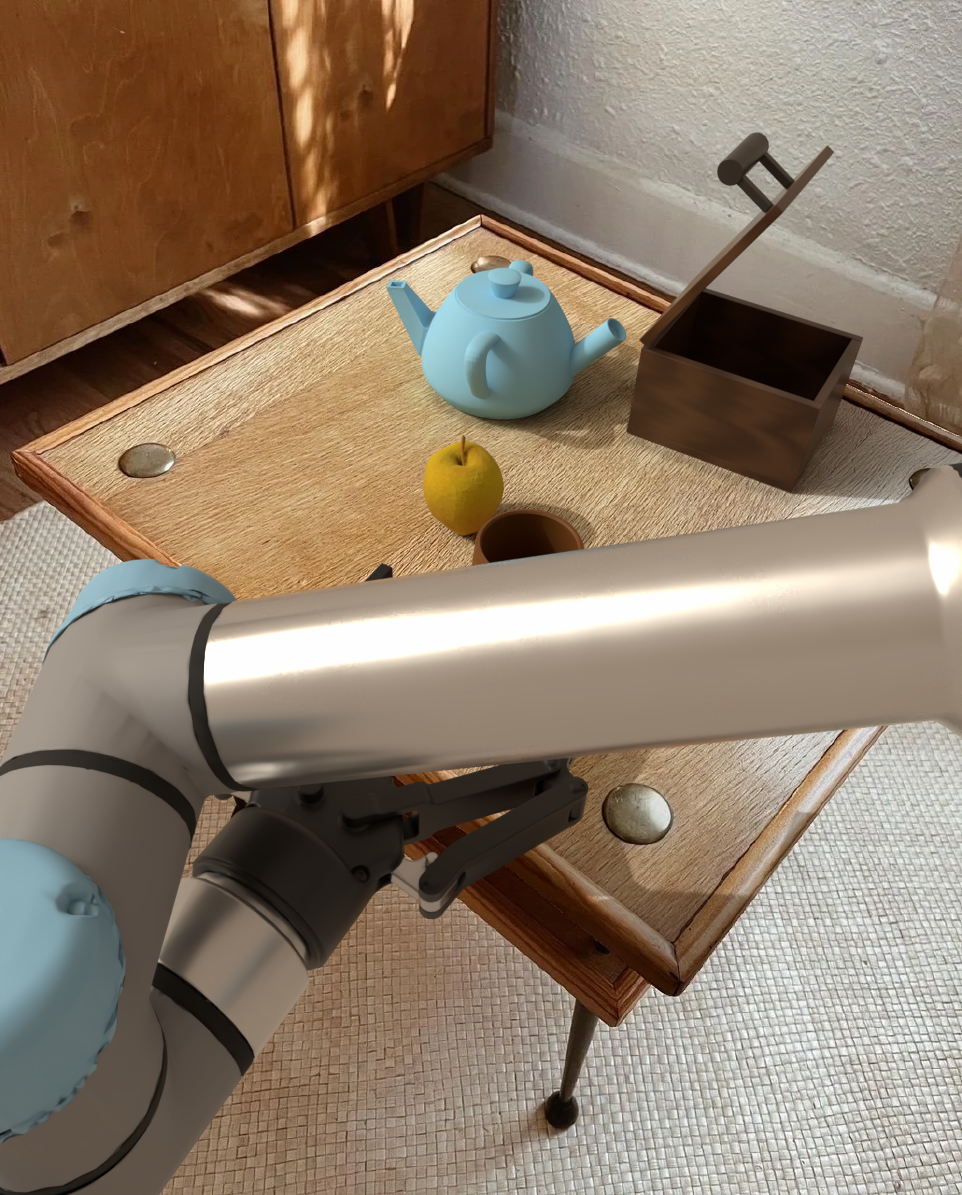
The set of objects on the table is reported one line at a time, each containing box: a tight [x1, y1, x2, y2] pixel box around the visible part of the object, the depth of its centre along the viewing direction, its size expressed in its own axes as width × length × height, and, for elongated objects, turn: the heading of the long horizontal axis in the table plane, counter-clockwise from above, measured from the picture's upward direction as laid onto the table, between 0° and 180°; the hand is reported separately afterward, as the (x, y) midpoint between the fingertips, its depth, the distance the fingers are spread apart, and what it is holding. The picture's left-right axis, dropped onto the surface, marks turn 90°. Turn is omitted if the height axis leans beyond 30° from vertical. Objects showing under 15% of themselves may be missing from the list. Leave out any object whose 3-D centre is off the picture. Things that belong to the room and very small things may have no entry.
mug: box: [471, 508, 585, 566], centre depth 71 cm, size 12×8×9 cm, turn 40°
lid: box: [639, 131, 835, 346], centre depth 83 cm, size 16×13×6 cm
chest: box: [625, 287, 864, 494], centre depth 91 cm, size 16×13×9 cm
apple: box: [422, 434, 505, 536], centre depth 81 cm, size 6×6×8 cm
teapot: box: [386, 259, 628, 420], centre depth 93 cm, size 15×17×11 cm
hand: (487, 625), depth 59 cm, fingers open, 13 cm apart
